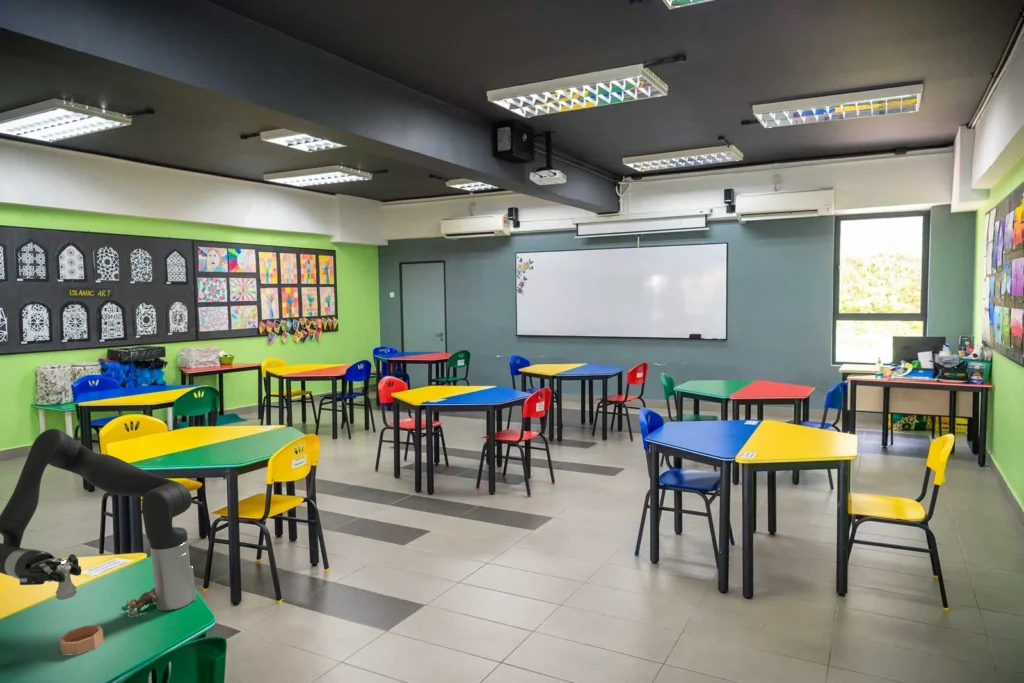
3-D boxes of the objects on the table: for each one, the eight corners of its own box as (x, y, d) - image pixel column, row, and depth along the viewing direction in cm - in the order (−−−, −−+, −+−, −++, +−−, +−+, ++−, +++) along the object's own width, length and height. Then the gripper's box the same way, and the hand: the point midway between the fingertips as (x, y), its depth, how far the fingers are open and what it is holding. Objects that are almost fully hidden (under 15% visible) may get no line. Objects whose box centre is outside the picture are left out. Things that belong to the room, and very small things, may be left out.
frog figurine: (152, 593, 193) (150, 581, 192) (175, 602, 186) (174, 589, 186) (110, 611, 183) (109, 598, 183) (134, 621, 177) (132, 607, 176)
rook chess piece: (73, 590, 169) (70, 559, 169) (80, 594, 166) (76, 564, 166) (53, 597, 166) (49, 566, 165) (59, 602, 163) (55, 570, 162)
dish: (97, 632, 171) (96, 621, 170) (106, 644, 165) (105, 632, 164) (58, 646, 165) (56, 635, 164) (66, 659, 159) (64, 647, 158)
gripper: (-3, 561, 165) (39, 571, 158) (56, 540, 178) (97, 548, 170) (1, 590, 166) (43, 602, 158) (59, 567, 178) (101, 577, 171)
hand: (71, 574), depth 164 cm, fingers closed on rook chess piece, 3 cm apart
